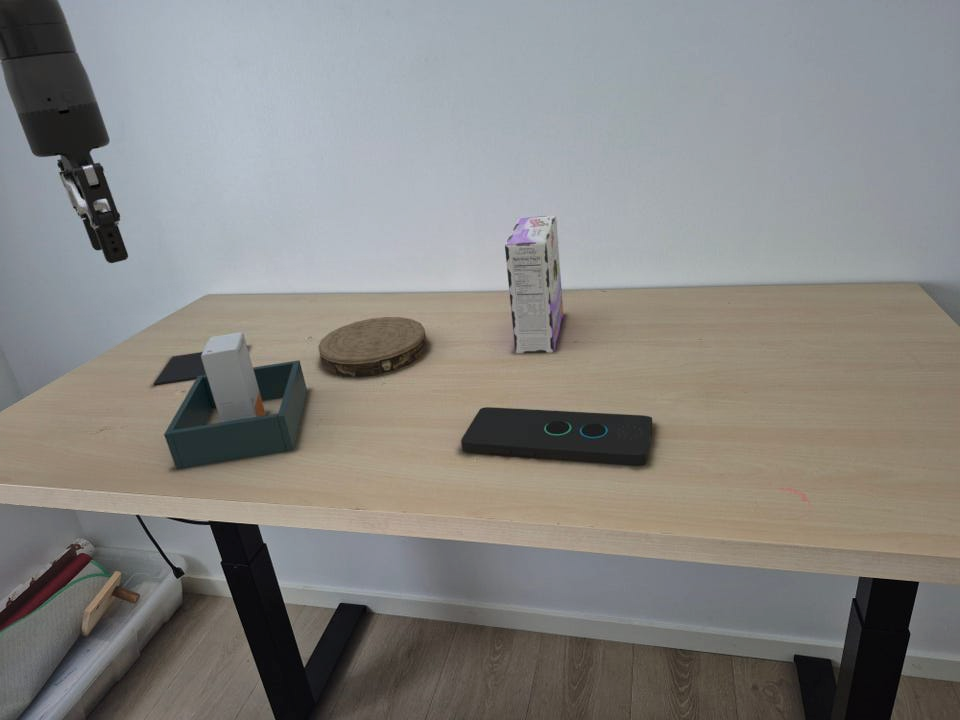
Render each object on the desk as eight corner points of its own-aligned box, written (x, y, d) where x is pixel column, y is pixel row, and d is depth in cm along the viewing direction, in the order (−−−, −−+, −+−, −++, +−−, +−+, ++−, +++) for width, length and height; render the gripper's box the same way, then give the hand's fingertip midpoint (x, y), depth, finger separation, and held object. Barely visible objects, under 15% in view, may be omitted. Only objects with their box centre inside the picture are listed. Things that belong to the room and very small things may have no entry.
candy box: (527, 318, 111) (518, 216, 104) (564, 317, 110) (557, 214, 103) (514, 355, 99) (502, 242, 92) (555, 354, 98) (546, 240, 91)
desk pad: (154, 387, 104) (153, 383, 104) (173, 359, 113) (172, 356, 113) (236, 374, 104) (234, 370, 104) (248, 348, 114) (247, 345, 113)
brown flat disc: (310, 353, 108) (306, 336, 107) (404, 326, 114) (401, 309, 113) (340, 390, 95) (335, 371, 94) (444, 357, 101) (441, 338, 100)
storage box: (176, 471, 81) (163, 434, 79) (208, 408, 95) (197, 375, 93) (294, 452, 82) (284, 415, 80) (307, 392, 96) (299, 360, 94)
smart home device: (645, 455, 70) (458, 442, 76) (645, 469, 71) (460, 455, 77) (653, 413, 77) (481, 405, 83) (653, 427, 78) (483, 417, 84)
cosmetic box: (261, 437, 86) (236, 349, 81) (226, 443, 86) (198, 355, 81) (267, 414, 91) (243, 330, 86) (234, 420, 91) (208, 336, 86)
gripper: (10, 109, 76) (66, 253, 83) (21, 110, 65) (85, 275, 72) (84, 98, 79) (132, 237, 86) (107, 97, 69) (159, 256, 75)
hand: (110, 254), depth 79 cm, fingers open, 8 cm apart
